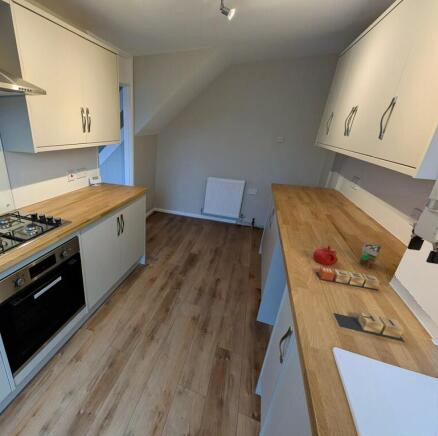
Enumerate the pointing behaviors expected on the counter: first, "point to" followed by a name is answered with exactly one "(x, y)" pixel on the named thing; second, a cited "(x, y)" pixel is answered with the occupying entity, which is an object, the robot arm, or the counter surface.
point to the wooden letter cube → (356, 279)
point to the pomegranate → (325, 256)
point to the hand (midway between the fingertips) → (422, 256)
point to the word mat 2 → (358, 326)
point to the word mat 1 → (345, 283)
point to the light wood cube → (370, 281)
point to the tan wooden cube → (370, 322)
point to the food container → (369, 254)
